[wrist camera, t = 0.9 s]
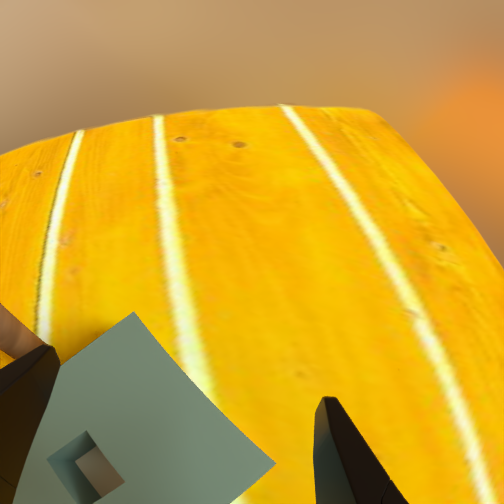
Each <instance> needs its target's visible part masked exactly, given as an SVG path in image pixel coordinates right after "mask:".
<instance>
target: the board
mask: <svg viewBox="0 0 504 504" xmlns="http://www.w3.org/2000/svg"><path fill="white" fill-rule="evenodd" d="M275 464H276V463H275V462H274V461H273V460H272V459H271V458H270V457H268V456H267V455H266V454H265V453H264V452H263V451H262V450H261V449H259V448H258V447H257V446H256V445H255V444H254V443H253V442H252V441H251V440H250V439H249V438H248V437H246V436H245V435H244V434H243V433H242V432H241V431H240V430H239V429H238V428H237V427H236V426H235V425H234V424H233V423H232V422H231V421H230V420H229V419H228V418H227V417H226V416H225V415H224V414H223V413H222V412H221V411H220V410H219V409H218V408H217V407H216V406H215V405H214V404H213V403H212V402H211V401H210V400H209V399H208V398H207V397H206V396H205V395H204V394H203V392H202V391H201V390H200V389H199V388H198V387H197V386H196V385H195V384H194V383H193V382H192V381H191V379H190V378H189V377H188V376H187V375H186V374H185V373H184V372H183V371H182V369H181V368H180V367H179V366H178V365H177V364H176V363H175V361H174V360H173V359H172V358H171V357H170V356H169V354H168V353H167V352H166V351H165V350H164V348H163V347H162V346H161V345H160V344H159V342H158V341H157V340H156V339H155V338H154V336H153V335H152V334H151V333H150V331H149V330H148V329H147V328H146V326H145V325H144V324H143V323H142V321H141V320H140V319H139V317H138V316H137V315H136V314H135V312H132V313H131V314H130V315H128V316H127V317H125V318H124V319H123V320H121V321H120V322H119V323H117V324H116V325H115V326H113V327H112V328H111V329H109V330H108V331H107V332H105V333H104V334H103V335H101V336H100V337H98V338H97V339H96V340H94V341H93V342H92V343H90V344H89V345H88V346H86V347H85V348H84V349H82V350H81V351H80V352H78V353H77V354H76V355H74V356H73V357H72V358H71V359H69V360H68V361H67V362H65V363H64V364H63V365H61V366H60V369H59V372H58V375H57V378H56V381H55V384H54V387H53V391H52V394H51V397H50V400H49V403H48V405H47V408H46V410H45V413H44V415H43V417H42V420H41V422H40V425H39V427H38V430H37V432H36V435H35V437H34V440H33V443H32V445H31V448H30V451H29V454H28V456H27V459H26V462H25V465H24V468H23V471H22V474H21V477H20V480H19V483H18V487H17V490H16V494H15V497H14V501H13V504H230V503H231V502H232V501H233V500H235V499H236V498H237V497H238V496H240V495H241V494H242V493H243V492H245V491H246V490H247V489H248V488H249V487H250V486H252V485H253V484H254V483H255V482H256V481H257V480H259V479H260V478H261V477H262V476H263V475H264V474H265V473H266V472H268V471H269V470H270V469H271V468H272V467H273V466H274V465H275Z"/></svg>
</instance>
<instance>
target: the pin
mask: <svg viewBox="0 0 504 504" xmlns="http://www.w3.org/2000/svg"><path fill="white" fill-rule="evenodd" d="M42 344H46V343H45V342H43V341H42V340H41V339H40V338H39V337H37V336H36V335H35V334H34V333H33V332H31V331H30V330H29V329H28V328H27V327H26V326H25V325H23V324H22V323H21V322H20V321H19V320H18V319H17V318H16V317H15V316H13V315H12V314H11V313H10V312H9V311H8V310H7V309H6V308H5V307H4V306H3V305H2V304H1V303H0V349H1V350H2V351H4V352H5V353H7V354H8V355H9V356H11V357H12V358H14V359H15V360H16V359H18V358H20V357H21V356H23V355H25V354H26V353H28V352H30V351H31V350H33V349H35V348H36V347H38V346H40V345H42Z"/></svg>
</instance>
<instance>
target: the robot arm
mask: <svg viewBox="0 0 504 504" xmlns="http://www.w3.org/2000/svg"><path fill="white" fill-rule="evenodd" d="M59 369H60V360H59V358H58V356H57V353H56V351H55V348H54V347H53V346H51V345H48V344H42V345H40V346H38V347H36V348H35V349H33V350H31V351H30V352H28V353H26V354H25V355H23V356H21V357H20V358H18V359H16V360H15V361H13V362H11V363H10V364H8V365H6V366H5V367H3V368H2V369H0V504H13V501H14V497H15V494H16V490H17V487H18V483H19V480H20V477H21V474H22V471H23V468H24V465H25V462H26V459H27V456H28V454H29V451H30V448H31V445H32V443H33V440H34V437H35V435H36V432H37V430H38V427H39V425H40V422H41V420H42V417H43V415H44V413H45V410H46V408H47V405H48V403H49V400H50V397H51V394H52V391H53V387H54V384H55V381H56V378H57V375H58V372H59ZM313 464H314V478H315V493H316V504H409V503H408V502H407V501H406V499H405V498H404V497H403V495H402V494H401V493H400V491H399V490H398V489H397V487H396V486H395V484H394V483H393V481H392V480H390V477H389V475H388V474H387V472H386V471H385V469H384V468H383V466H382V465H381V464H380V462H379V461H378V459H377V458H376V456H375V455H374V453H373V452H372V450H371V449H370V447H369V446H368V444H367V443H366V441H365V440H364V438H363V437H362V435H361V434H360V432H359V431H358V429H357V428H356V426H355V425H354V423H353V422H352V420H351V419H350V417H349V416H348V414H347V413H346V411H345V410H344V408H343V407H342V405H341V404H340V402H339V401H338V399H337V398H336V397H330V396H324V397H323V398H322V399H321V401H320V403H319V405H318V407H317V409H316V412H315V425H314V447H313Z"/></svg>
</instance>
